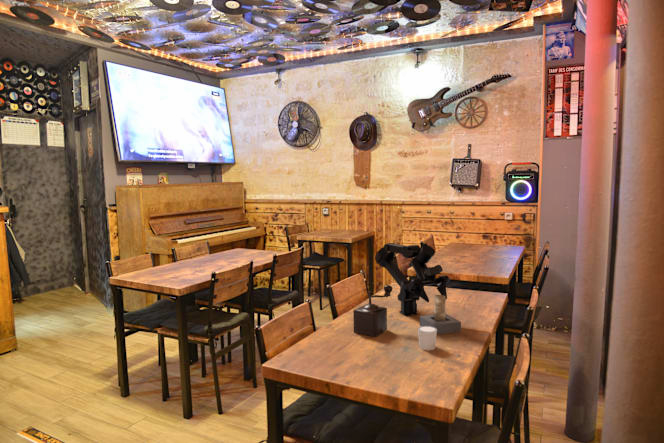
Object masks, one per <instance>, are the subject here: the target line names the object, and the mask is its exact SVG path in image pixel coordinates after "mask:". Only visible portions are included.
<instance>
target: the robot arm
mask: <svg viewBox="0 0 664 443" xmlns="http://www.w3.org/2000/svg"><path fill="white" fill-rule="evenodd" d="M435 253H436V250H435V248H433V247H432V246H431V245H428V243H422V244H421V245H419V244H412V245H404V244H400V243H399V244H397V243H394V242H389V243H385V244H384V245H383V247H382V248H380V249H379V250H378V251H377V253H376V255H374V261H375V262H376V264H378V266H380V267H382V268H384V269H386V271H387V272H388V273H389V274H390V276H391V277H392V278H393V280H394V281H395V282H396V284H397V285H398V286H399V293H398V294H397V300H398V302H400V310H399V311H398V312H399V313H400V314H402V315H404V316H406V317H408V316H415V315H418V314H419V313H418V303H417V301H420V298H421V299H422V300H424V301H425V302H426V303H429V302H430V299H429V296H428V294H427V292H426V290H425V286H426V287H427V286H431V285H433V286H434V285H435V287H436V290H437V291H438V292H439V295H443V296H445V297H446V300H447V299H448V295H447V294H448V293H447V284H448V283H449V282H450V281H451V279H450V277H449V276H448V275H446V274H443V275H441V273H442V272H443V270H444V269H443V267H442V266H441V264H436V265H435V266H428V263H429V262H430V261H431V259H432V258H433V257H434V256H435ZM396 254H398V255H402V257H403V258H405V259H411V260H410V261H409V263H408V267H410V268H411V267H412V268H413V271H414V272H415V275H414V277H415V278H414V279H410V280H409V279H408V278H407V276H405V274H404V273H403V271H401V269H400V268H399V266H398V265H397V264H396V263H395V261H394V260H395V256H396ZM437 275H439V276H438V277H437ZM436 277H437V278H436ZM435 278H436V279H435Z"/></svg>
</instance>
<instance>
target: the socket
mask: <svg viewBox="0 0 664 443" xmlns="http://www.w3.org/2000/svg"><path fill="white" fill-rule="evenodd" d="M422 326H431V327H434V328H436V329H437V334H436V336H437V335H444V334H450V333H453V334H454V333H459V332H462V322H461V320H458V319H457V318H455V317H453V316H451V315H449V314H447V313H445V321H442V322H436V321H435V320H434V314H425V315H419V327H422Z"/></svg>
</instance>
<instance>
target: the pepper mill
mask: <svg viewBox="0 0 664 443" xmlns="http://www.w3.org/2000/svg"><path fill="white" fill-rule="evenodd" d="M383 290H384V294H383V295H377V294H376V295H375V294H374V295H372V291H370V290H369V291H368V295H367V296H368V303H366V304H364V305H362V306H359V307H358V308H355V309H353V311H352V312H353V333H356V334H359V335H364V336H367V337H372V338H377V337H378V336H380V335H382V334H383V333H384V332H386V331H387V330H388V309H387V307H385V306H379V305H378V304H375V303H372V298H388V297H391V296H392V295H391V292H392V291H393V286H392V285H390V284H385V285H384V286H383Z"/></svg>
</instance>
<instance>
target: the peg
mask: <svg viewBox="0 0 664 443" xmlns="http://www.w3.org/2000/svg"><path fill="white" fill-rule="evenodd" d="M433 298H434V307H433V308H434V310H433V311H434V312H433V313H434V320H435V321H436V322H442V321H445V314H446V300H447V299H446V297H445V296H443V295H441V294H436V295H434V297H433Z"/></svg>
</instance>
